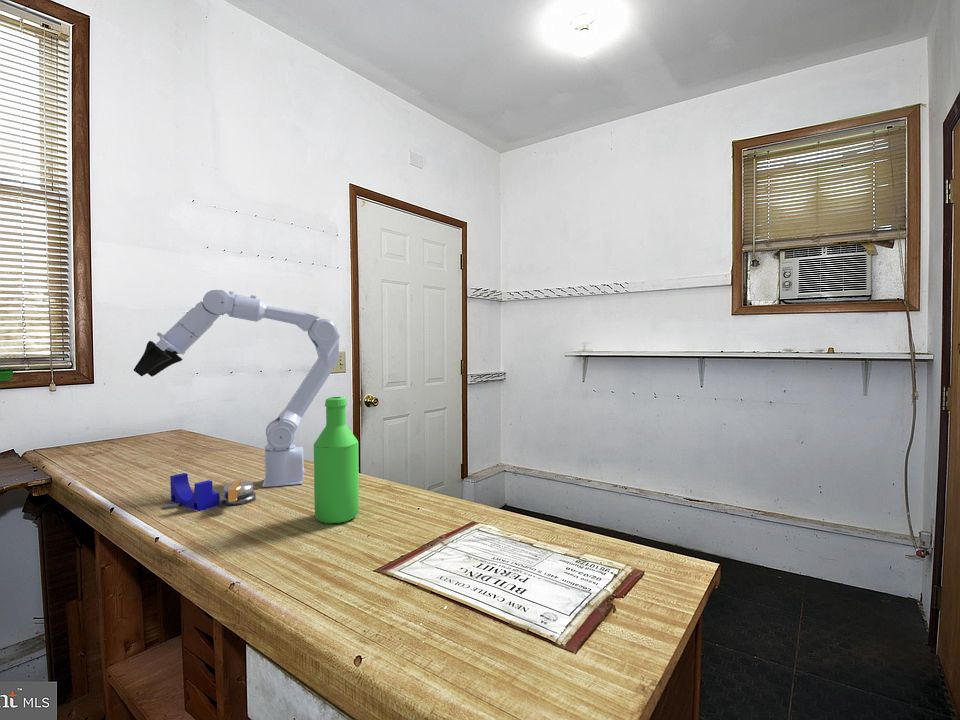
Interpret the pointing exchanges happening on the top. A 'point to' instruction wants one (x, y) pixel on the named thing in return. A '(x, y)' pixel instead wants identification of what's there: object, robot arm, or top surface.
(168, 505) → the grey block
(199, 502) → the cable clip
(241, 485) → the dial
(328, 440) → the bottle
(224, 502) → the dial housing
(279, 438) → the robot arm
